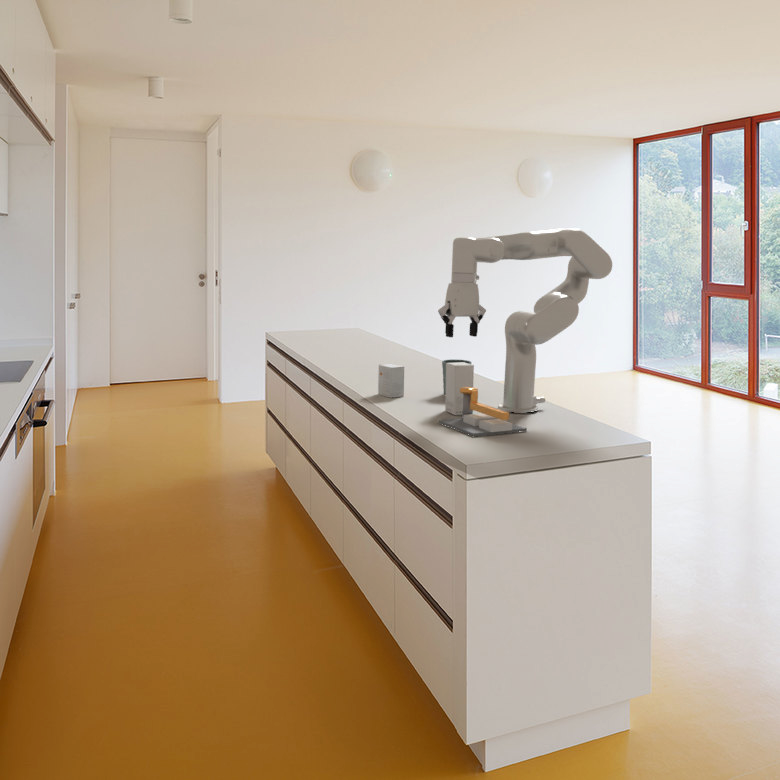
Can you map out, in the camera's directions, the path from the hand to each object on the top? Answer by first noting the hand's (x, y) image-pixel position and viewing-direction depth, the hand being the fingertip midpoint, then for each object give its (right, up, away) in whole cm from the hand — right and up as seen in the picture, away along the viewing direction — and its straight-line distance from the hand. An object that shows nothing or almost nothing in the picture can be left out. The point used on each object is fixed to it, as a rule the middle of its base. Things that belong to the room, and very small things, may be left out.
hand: (461, 336), depth 238 cm
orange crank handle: (+5, -23, -17) cm, 29 cm away
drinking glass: (+1, -19, +34) cm, 39 cm away
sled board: (+4, -27, -16) cm, 32 cm away
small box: (-22, -19, +30) cm, 41 cm away
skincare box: (-1, -24, +4) cm, 24 cm away
